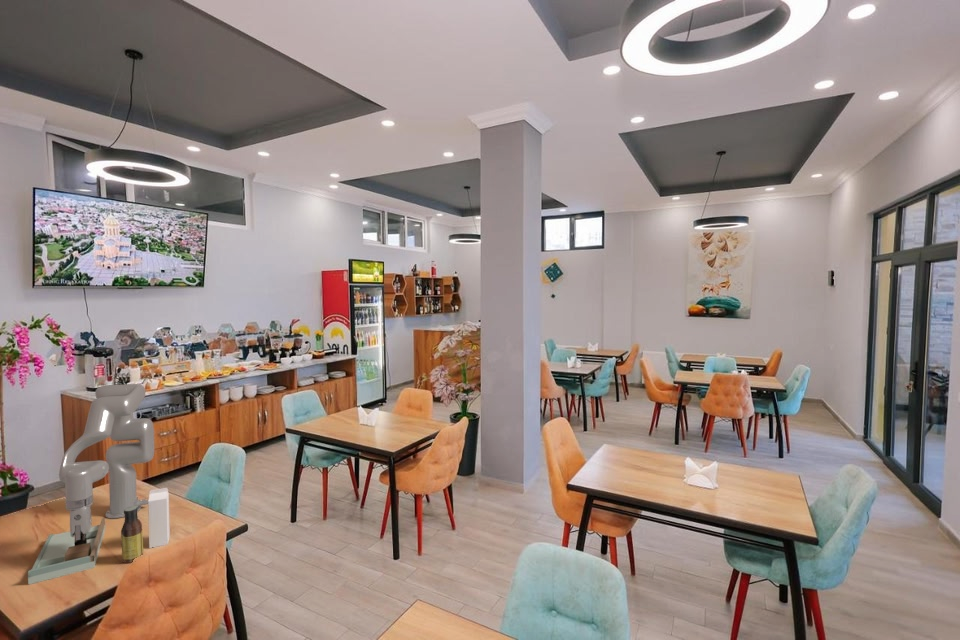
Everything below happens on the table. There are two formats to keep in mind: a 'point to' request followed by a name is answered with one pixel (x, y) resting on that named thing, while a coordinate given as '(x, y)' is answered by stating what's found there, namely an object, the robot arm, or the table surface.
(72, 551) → the walnut block
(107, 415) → the robot arm
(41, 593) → the table surface
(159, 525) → the milk
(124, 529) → the sauce bottle
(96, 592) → the table surface
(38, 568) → the board
